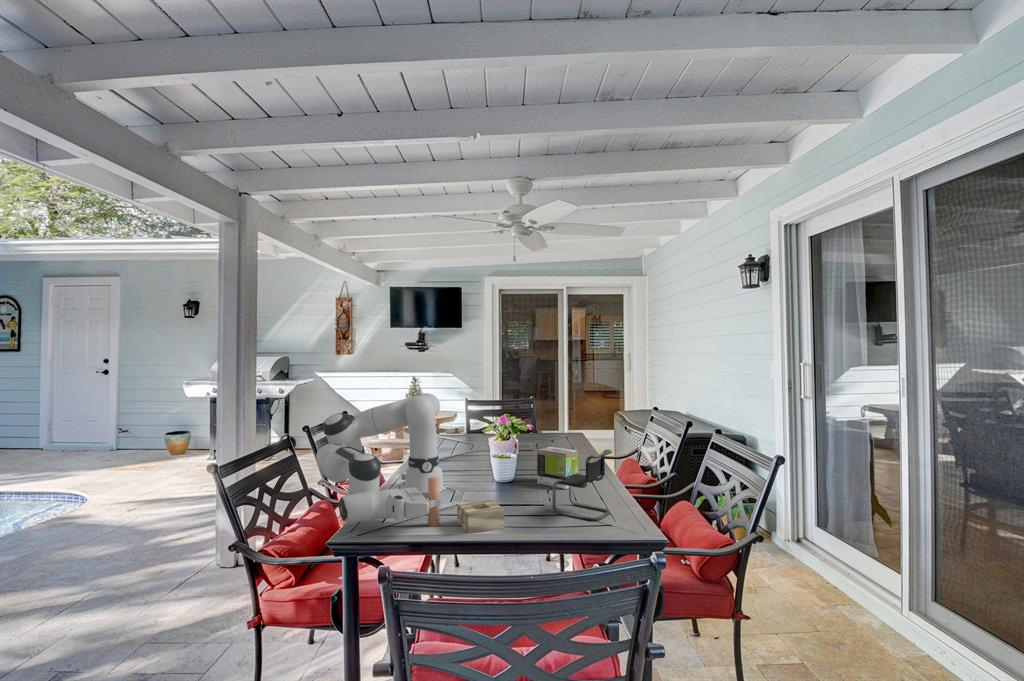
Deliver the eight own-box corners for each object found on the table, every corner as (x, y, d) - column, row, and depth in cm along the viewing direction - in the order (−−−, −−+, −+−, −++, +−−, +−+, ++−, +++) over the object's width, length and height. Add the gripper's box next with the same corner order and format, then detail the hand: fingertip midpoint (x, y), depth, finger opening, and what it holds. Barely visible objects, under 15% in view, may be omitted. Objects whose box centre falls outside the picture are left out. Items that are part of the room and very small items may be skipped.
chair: (596, 522, 170) (596, 455, 171) (551, 513, 181) (551, 449, 181) (613, 512, 181) (613, 449, 181) (570, 504, 191) (570, 444, 191)
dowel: (426, 523, 169) (427, 477, 170) (437, 522, 171) (437, 476, 171) (429, 527, 166) (429, 480, 166) (440, 525, 167) (440, 479, 168)
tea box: (579, 485, 218) (579, 449, 218) (565, 490, 210) (565, 453, 210) (550, 479, 228) (550, 445, 228) (536, 483, 220) (536, 448, 220)
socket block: (457, 521, 172) (457, 503, 172) (491, 517, 176) (491, 499, 176) (468, 533, 160) (468, 514, 161) (504, 528, 165) (504, 509, 165)
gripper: (388, 504, 173) (428, 499, 178) (399, 523, 154) (444, 517, 160) (388, 485, 173) (428, 481, 179) (399, 501, 154) (444, 496, 160)
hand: (436, 498), depth 169 cm, fingers open, 7 cm apart
